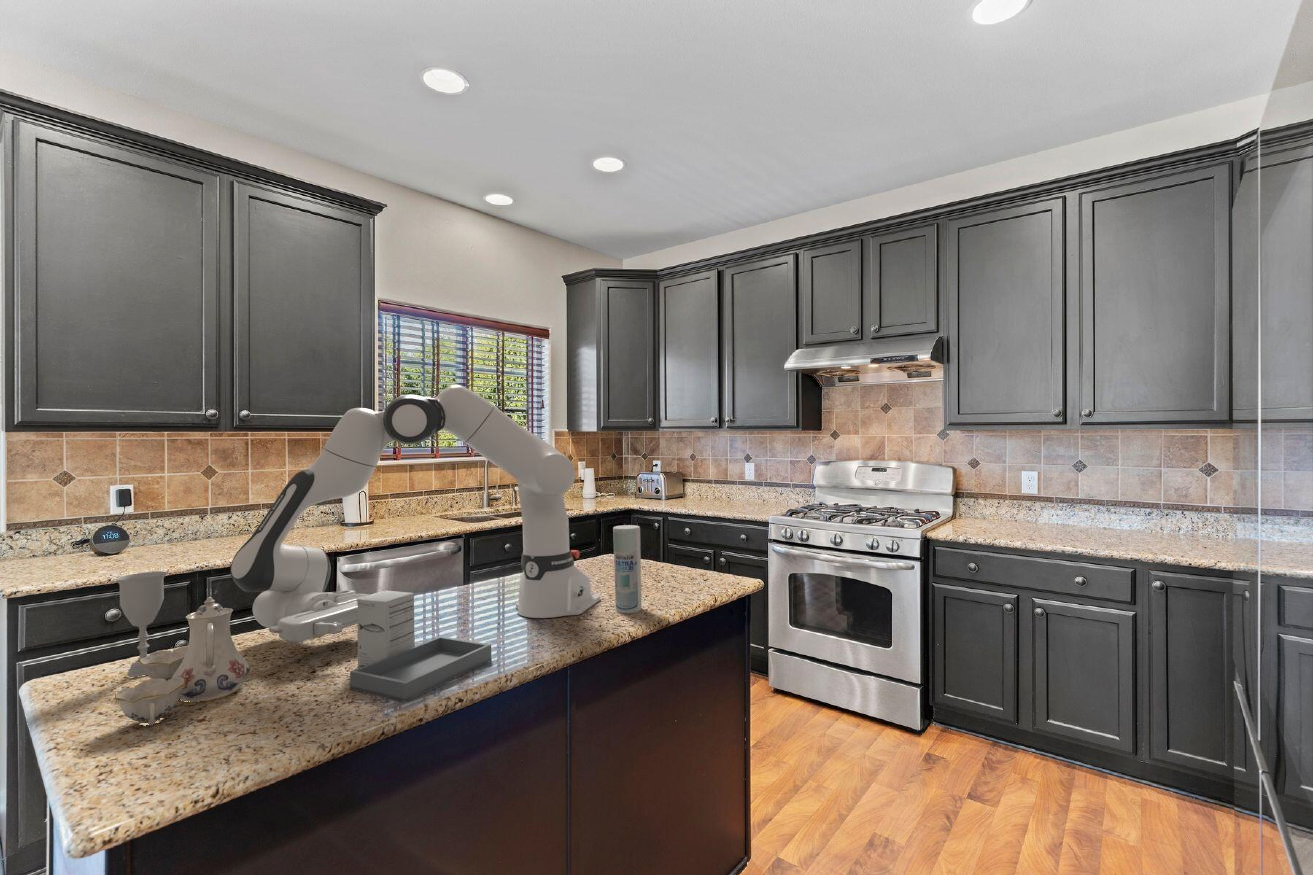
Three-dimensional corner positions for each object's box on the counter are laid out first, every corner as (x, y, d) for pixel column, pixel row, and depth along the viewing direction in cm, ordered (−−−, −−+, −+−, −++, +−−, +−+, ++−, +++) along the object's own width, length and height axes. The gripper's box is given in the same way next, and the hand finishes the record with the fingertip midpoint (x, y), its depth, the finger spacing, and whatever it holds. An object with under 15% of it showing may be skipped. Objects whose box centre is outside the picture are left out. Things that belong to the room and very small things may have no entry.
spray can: (611, 612, 145) (609, 528, 145) (619, 605, 152) (617, 524, 152) (638, 613, 144) (635, 529, 144) (645, 606, 150) (643, 525, 150)
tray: (440, 651, 121) (440, 636, 121) (491, 660, 115) (491, 644, 115) (350, 689, 103) (350, 671, 103) (405, 702, 97) (405, 683, 97)
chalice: (166, 662, 118) (164, 569, 118) (171, 671, 113) (169, 574, 113) (116, 673, 113) (114, 576, 113) (118, 683, 108) (116, 581, 108)
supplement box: (356, 666, 114) (355, 598, 114) (387, 652, 121) (385, 589, 121) (387, 670, 111) (385, 601, 111) (416, 656, 118) (415, 591, 118)
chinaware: (136, 691, 109) (121, 600, 108) (248, 660, 118) (235, 576, 117) (116, 755, 86) (97, 640, 85) (257, 709, 96) (241, 606, 95)
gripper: (263, 612, 116) (309, 620, 110) (357, 587, 135) (402, 593, 129) (264, 645, 116) (310, 655, 110) (358, 616, 135) (403, 623, 129)
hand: (360, 621), depth 120 cm, fingers open, 8 cm apart
